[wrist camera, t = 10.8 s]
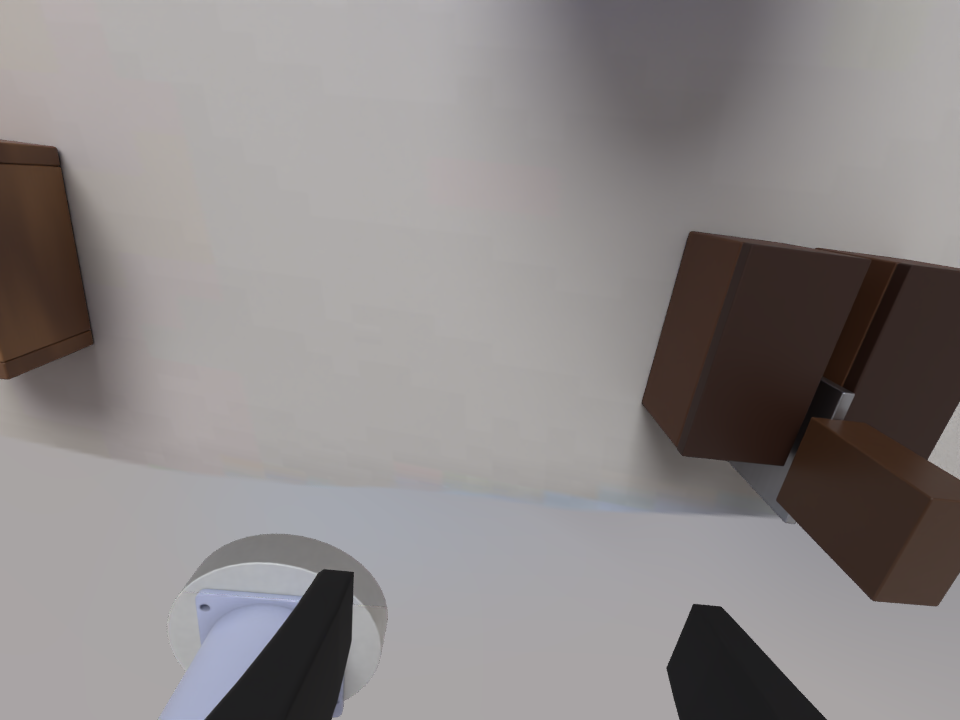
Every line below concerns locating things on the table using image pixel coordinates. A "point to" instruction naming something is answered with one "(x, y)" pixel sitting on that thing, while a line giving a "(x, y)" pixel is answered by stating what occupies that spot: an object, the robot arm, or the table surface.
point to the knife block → (37, 263)
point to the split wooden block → (802, 346)
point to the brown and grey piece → (866, 503)
